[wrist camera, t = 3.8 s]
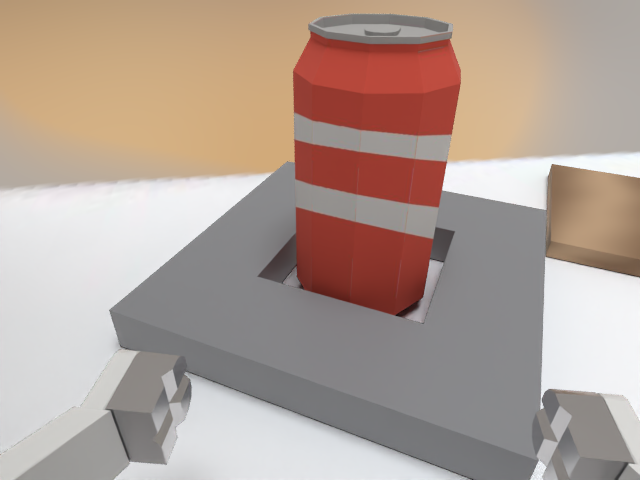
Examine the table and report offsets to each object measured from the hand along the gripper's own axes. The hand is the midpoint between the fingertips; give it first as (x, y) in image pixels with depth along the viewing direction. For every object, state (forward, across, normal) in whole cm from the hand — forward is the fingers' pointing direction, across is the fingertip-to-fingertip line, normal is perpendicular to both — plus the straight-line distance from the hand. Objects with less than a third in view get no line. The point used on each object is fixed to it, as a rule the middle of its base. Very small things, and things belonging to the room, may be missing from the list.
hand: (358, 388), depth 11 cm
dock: (+11, 0, +6) cm, 13 cm away
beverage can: (+11, 0, +6) cm, 13 cm away
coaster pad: (+19, -17, +6) cm, 26 cm away
